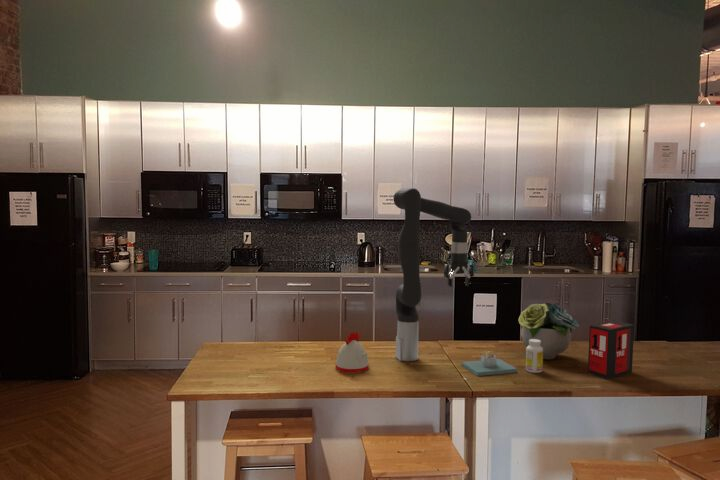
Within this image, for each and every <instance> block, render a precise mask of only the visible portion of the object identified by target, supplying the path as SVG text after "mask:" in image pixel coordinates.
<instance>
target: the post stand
mask: <svg viewBox="0 0 720 480" xmlns="http://www.w3.org/2000/svg"><path fill="white" fill-rule="evenodd" d="M485 354H486V357H492V354H493V353H492V351H491V350H490V351H489V350H488V351H486V353H485ZM461 366H462V367H463V368H465V369H466V370H467V371H469V372H471V373H472V374H473V375H475V376H477V377H478V376H479V377H480V376H482V377H483V376H491V375H503V374H504V375H505V374H513V373H517V372H518V368H516V367H515V366H514V365H512V364H510V363H507V362H506V361H504V360H502V359H501V358H497V366H496V367H493V368H488V367H483V366H482V365H481V359H480V360H471V361H461Z"/></svg>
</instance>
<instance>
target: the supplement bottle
mask: <svg viewBox="0 0 720 480" xmlns="http://www.w3.org/2000/svg"><path fill="white" fill-rule="evenodd" d="M540 344H541V341H540V340H537V339H530V340H529V346H527V348H526V347H525V370H526V371H527V372H529V373H531V374H533V373H534V374H539V373H542V372H543V370H544V369H543V368H544V359H543V348H542V347H541V346H540Z"/></svg>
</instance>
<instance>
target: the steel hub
mask: <svg viewBox="0 0 720 480" xmlns="http://www.w3.org/2000/svg"><path fill="white" fill-rule="evenodd" d="M497 359H498V356H497V355H496V354H493V353H492V357H486V353H482V354H481V355H480V360H481V365H482V366H483V367H488V368H493V367H496V366H497Z"/></svg>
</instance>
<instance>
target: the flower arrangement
mask: <svg viewBox="0 0 720 480" xmlns="http://www.w3.org/2000/svg"><path fill="white" fill-rule="evenodd" d="M567 311H568V309H566V308H564V309H562V305H561V304H560V305H559V304H556V303H552V304H551V302H545V303H531V304H529V305H528V306H527V308H525V309H524V310H522V311H521V313H520V315H519V317H518V323H519V325H520V326H521V327H520V331H521V332H520V333H521V340H522V343H523V346H524V347H525V349H526V348H527V346H529V340H530V339H537V340H540V341H541V344H540V346H541V347H542V348H543V360H553V359H555V358H556V356H557V355H559V354H561V353H564V352H565V351H567V350H568V348H569V347H570V344H571V343H572V342H571V341H572V332H573V331H572V329H573V330H575V329H577V328H580V325H579V323H578V321H577V320H576V319H575V318H573V317H572V315H570V314H569V313H568V312H567Z"/></svg>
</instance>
